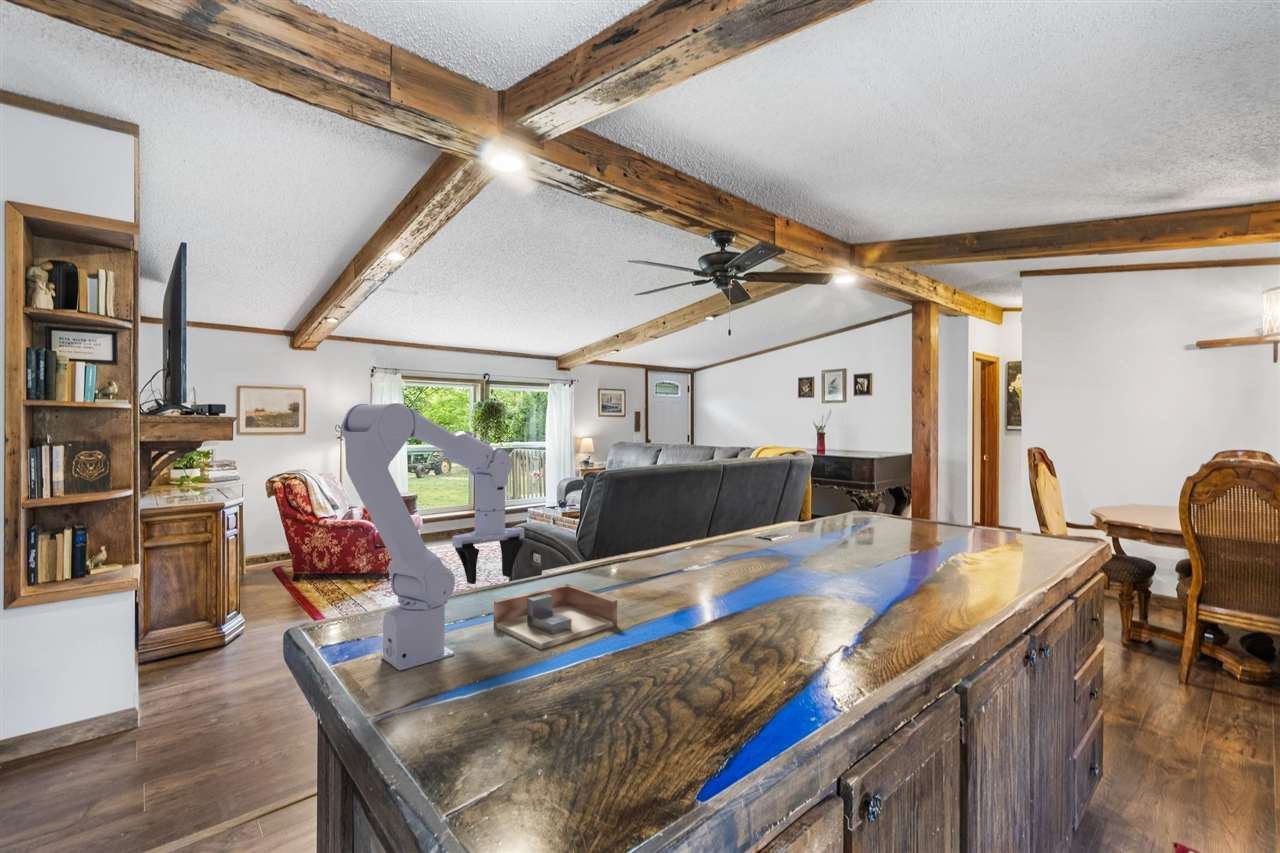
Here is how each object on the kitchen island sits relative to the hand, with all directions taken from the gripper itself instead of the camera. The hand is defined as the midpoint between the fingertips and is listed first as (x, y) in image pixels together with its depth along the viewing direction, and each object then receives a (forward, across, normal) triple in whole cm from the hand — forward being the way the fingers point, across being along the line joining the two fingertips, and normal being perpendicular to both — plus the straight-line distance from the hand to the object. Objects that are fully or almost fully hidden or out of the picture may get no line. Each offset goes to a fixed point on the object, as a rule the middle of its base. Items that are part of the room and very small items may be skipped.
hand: (489, 579), depth 112 cm
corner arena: (+9, +10, -8) cm, 16 cm away
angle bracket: (+8, +7, -10) cm, 15 cm away
